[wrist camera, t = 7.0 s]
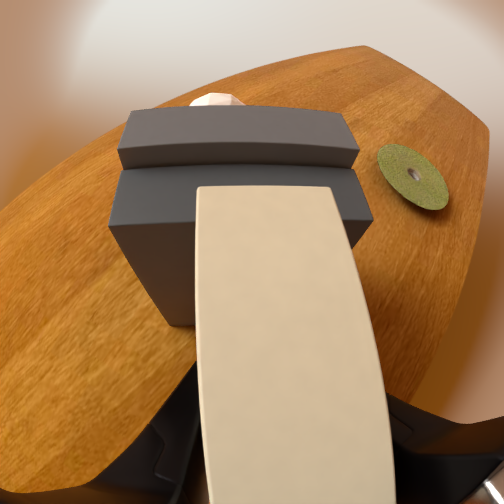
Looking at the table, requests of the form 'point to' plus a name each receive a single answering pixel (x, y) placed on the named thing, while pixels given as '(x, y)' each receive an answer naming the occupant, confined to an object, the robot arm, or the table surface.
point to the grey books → (218, 181)
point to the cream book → (286, 353)
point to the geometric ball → (216, 100)
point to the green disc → (413, 176)
